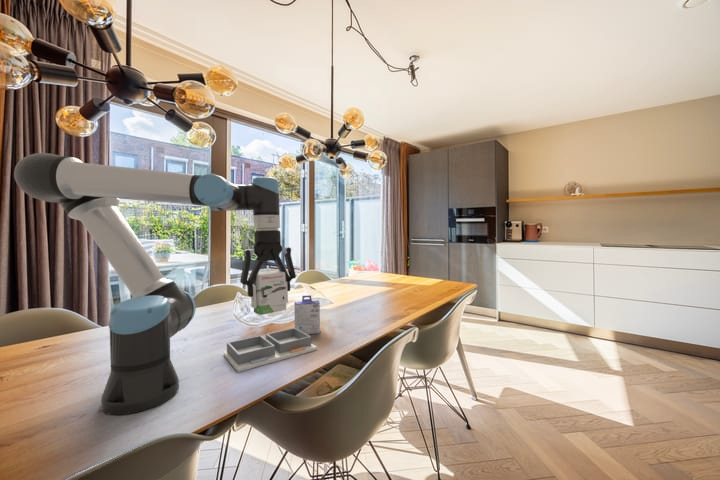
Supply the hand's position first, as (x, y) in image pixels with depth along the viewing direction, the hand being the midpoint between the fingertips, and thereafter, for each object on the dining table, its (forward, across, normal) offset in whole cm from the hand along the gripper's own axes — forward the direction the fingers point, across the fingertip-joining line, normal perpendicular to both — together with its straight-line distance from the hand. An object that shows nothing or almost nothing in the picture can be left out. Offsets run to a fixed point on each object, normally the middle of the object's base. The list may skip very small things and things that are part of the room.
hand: (270, 304), depth 90 cm
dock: (+18, +3, +9) cm, 20 cm away
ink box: (+2, 0, 0) cm, 2 cm away
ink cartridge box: (+19, +21, +20) cm, 34 cm away
